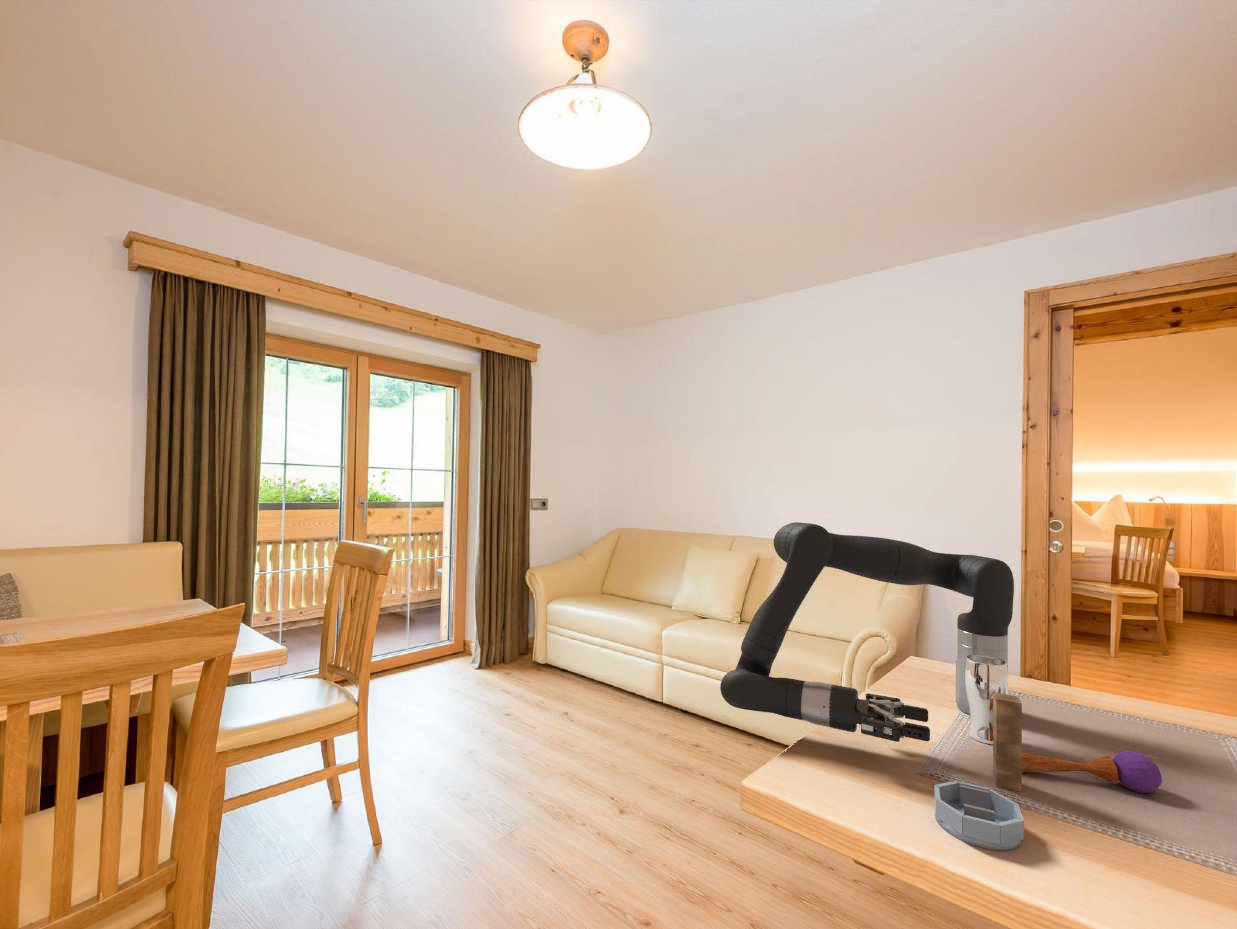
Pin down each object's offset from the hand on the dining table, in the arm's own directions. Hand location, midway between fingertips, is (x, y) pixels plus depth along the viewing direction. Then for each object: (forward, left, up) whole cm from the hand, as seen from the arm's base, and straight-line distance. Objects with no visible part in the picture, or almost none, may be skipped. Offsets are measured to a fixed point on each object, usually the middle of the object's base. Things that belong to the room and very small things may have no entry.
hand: (928, 724), depth 97 cm
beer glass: (-12, +17, -7) cm, 22 cm away
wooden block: (+5, +10, -7) cm, 13 cm away
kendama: (+3, +24, -8) cm, 25 cm away
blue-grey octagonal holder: (+17, -2, -7) cm, 18 cm away
